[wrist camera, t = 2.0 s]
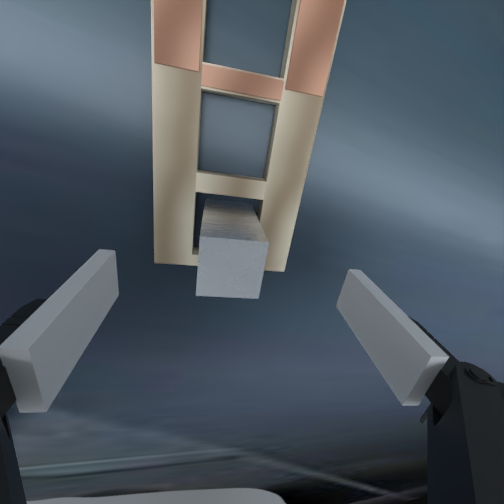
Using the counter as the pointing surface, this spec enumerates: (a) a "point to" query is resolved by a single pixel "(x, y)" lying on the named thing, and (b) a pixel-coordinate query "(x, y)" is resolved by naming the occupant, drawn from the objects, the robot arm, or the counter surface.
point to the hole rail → (244, 87)
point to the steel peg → (230, 250)
